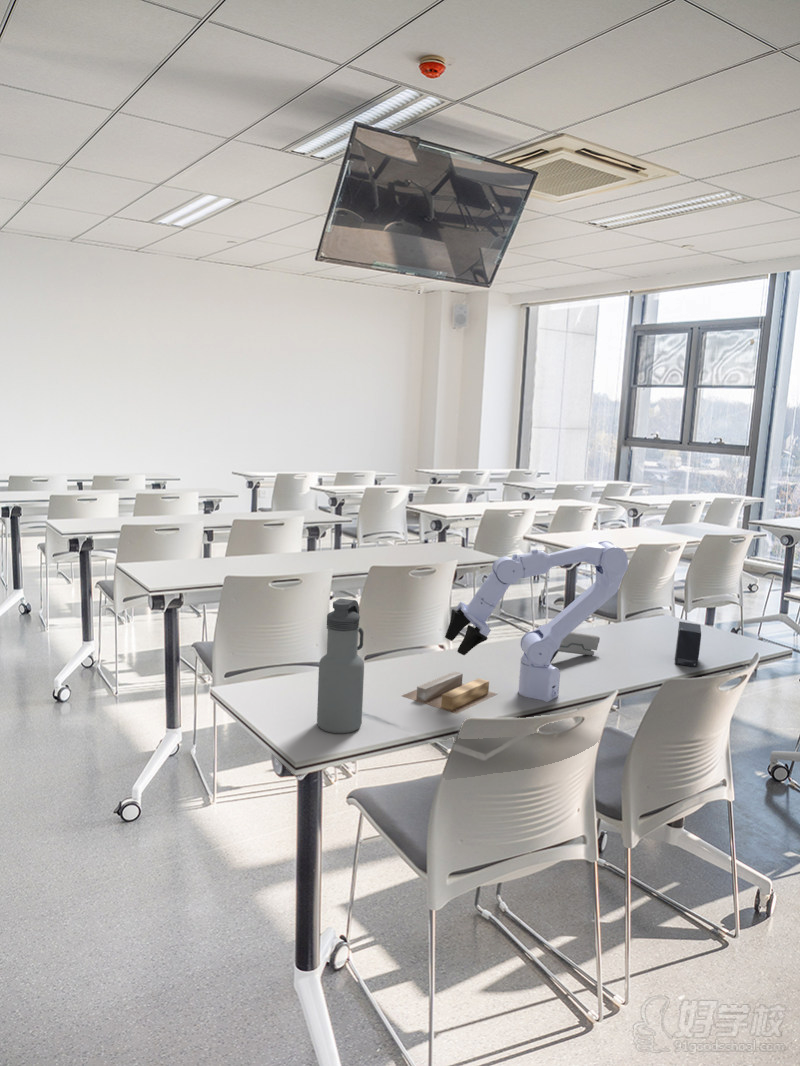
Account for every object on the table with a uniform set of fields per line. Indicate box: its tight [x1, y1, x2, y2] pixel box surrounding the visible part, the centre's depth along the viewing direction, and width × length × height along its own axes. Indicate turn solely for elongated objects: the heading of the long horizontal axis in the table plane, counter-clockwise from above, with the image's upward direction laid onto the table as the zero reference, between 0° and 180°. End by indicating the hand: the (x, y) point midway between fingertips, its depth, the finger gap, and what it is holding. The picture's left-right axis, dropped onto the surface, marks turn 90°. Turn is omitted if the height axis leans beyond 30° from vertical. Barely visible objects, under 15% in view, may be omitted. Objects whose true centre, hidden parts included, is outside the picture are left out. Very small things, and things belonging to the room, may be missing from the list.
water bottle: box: [316, 598, 365, 734], centre depth 175 cm, size 10×10×28 cm
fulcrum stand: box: [401, 671, 498, 714], centre depth 197 cm, size 16×18×4 cm
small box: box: [674, 621, 702, 668], centre depth 237 cm, size 11×6×10 cm, turn 161°
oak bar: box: [441, 678, 490, 710], centre depth 194 cm, size 16×3×3 cm, turn 142°
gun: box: [550, 631, 600, 664], centre depth 233 cm, size 2×25×10 cm, turn 125°
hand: (454, 646), depth 198 cm, fingers open, 7 cm apart
